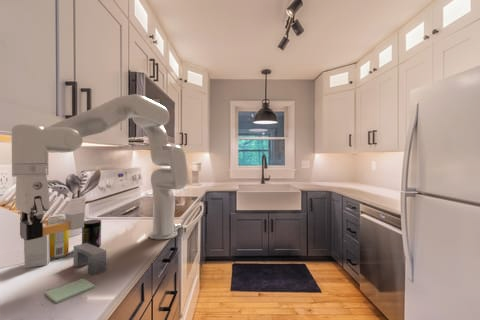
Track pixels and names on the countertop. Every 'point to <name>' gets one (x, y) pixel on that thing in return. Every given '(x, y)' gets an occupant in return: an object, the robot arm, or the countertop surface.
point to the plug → (58, 224)
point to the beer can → (58, 238)
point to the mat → (69, 290)
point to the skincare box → (37, 251)
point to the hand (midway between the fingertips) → (31, 236)
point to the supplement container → (92, 232)
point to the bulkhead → (90, 258)
